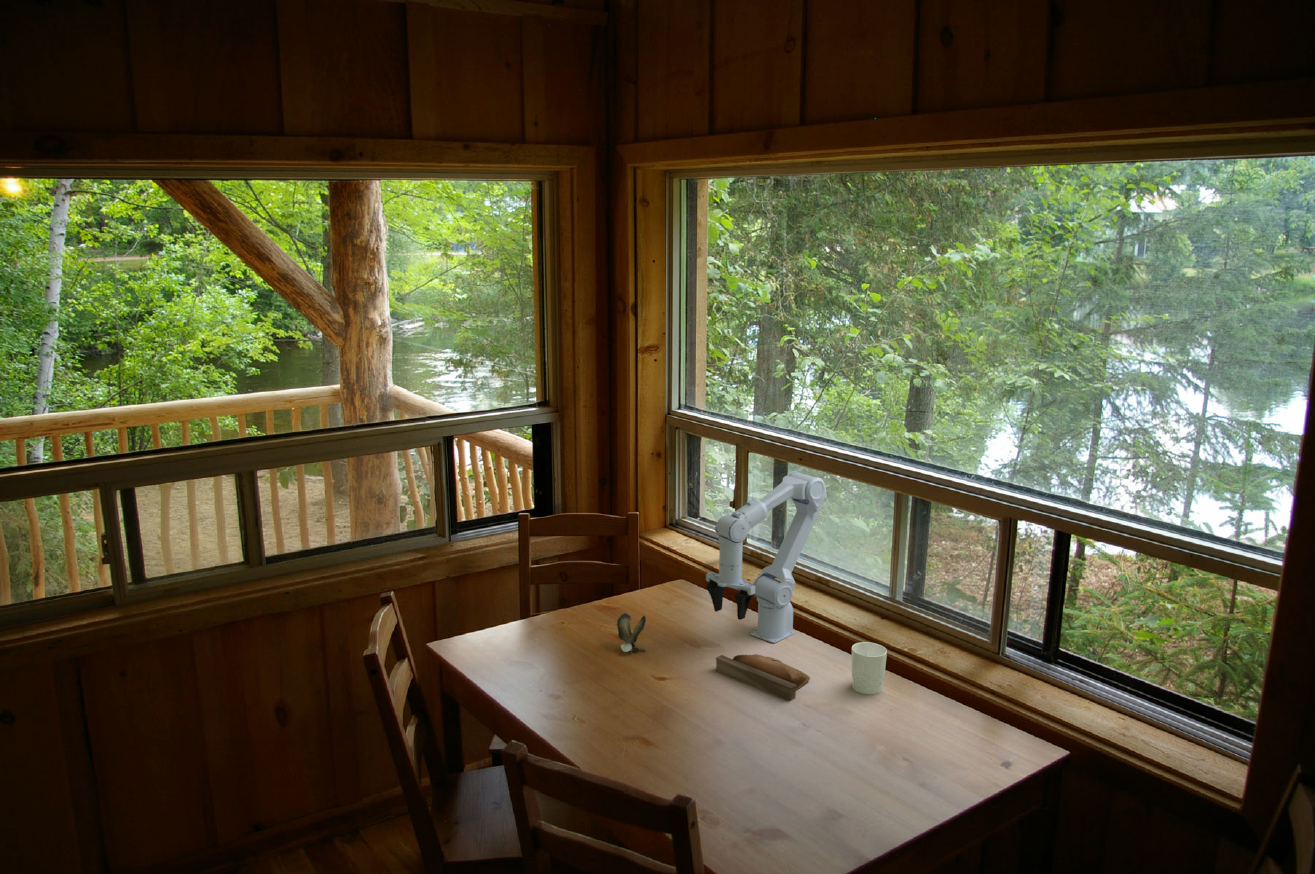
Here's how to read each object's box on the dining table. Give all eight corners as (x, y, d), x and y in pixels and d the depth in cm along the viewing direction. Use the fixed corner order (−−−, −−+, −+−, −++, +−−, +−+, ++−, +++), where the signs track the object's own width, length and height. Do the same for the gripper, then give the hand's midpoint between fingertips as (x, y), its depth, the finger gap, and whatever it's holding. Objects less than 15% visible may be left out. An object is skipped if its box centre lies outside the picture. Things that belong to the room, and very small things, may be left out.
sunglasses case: (812, 675, 209) (803, 660, 205) (799, 701, 205) (789, 686, 202) (751, 653, 221) (741, 638, 217) (737, 677, 218) (727, 662, 214)
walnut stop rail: (721, 667, 216) (721, 654, 215) (796, 698, 201) (796, 684, 200) (715, 670, 215) (715, 657, 214) (790, 702, 199) (790, 688, 199)
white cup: (845, 692, 204) (847, 652, 202) (855, 679, 211) (856, 639, 209) (880, 700, 200) (882, 659, 198) (888, 686, 207) (890, 646, 205)
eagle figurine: (647, 644, 229) (647, 611, 228) (646, 656, 222) (646, 622, 221) (617, 644, 230) (617, 611, 228) (615, 655, 223) (615, 622, 221)
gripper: (698, 560, 225) (697, 610, 227) (743, 573, 215) (742, 626, 217) (716, 553, 230) (715, 603, 232) (761, 567, 220) (759, 618, 222)
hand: (729, 614), depth 225 cm, fingers open, 7 cm apart
